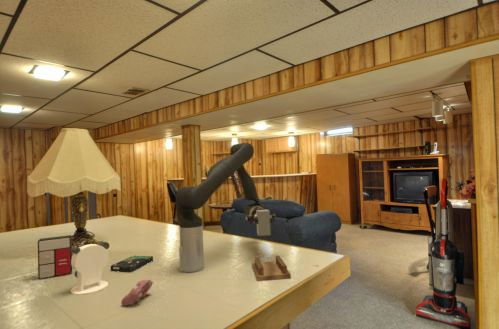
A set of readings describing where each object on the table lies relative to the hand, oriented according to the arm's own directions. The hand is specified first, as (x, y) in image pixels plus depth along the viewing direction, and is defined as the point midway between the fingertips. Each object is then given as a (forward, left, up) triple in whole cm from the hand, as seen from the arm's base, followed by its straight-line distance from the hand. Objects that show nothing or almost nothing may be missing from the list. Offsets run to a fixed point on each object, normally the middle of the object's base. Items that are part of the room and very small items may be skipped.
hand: (264, 220), depth 119 cm
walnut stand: (0, -10, -18) cm, 20 cm away
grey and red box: (-84, +5, -18) cm, 86 cm away
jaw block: (0, +3, -6) cm, 7 cm away
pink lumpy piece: (-44, -24, -18) cm, 54 cm away
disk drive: (-56, +11, -18) cm, 60 cm away
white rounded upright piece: (-64, -11, -18) cm, 67 cm away
